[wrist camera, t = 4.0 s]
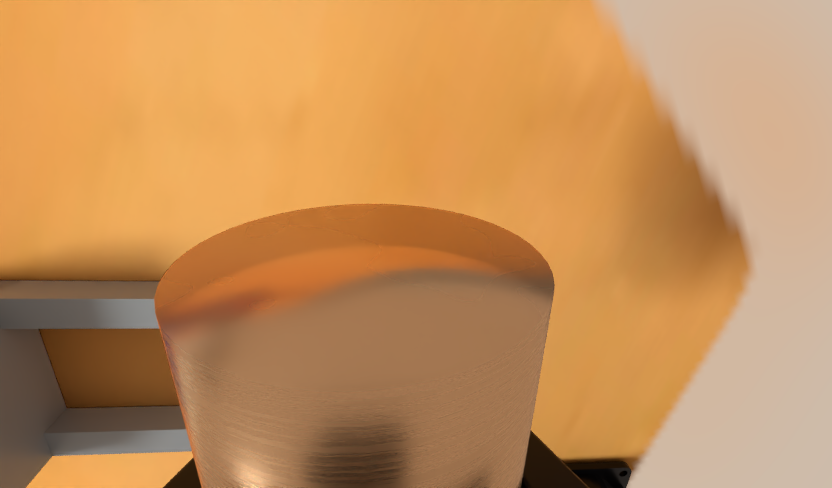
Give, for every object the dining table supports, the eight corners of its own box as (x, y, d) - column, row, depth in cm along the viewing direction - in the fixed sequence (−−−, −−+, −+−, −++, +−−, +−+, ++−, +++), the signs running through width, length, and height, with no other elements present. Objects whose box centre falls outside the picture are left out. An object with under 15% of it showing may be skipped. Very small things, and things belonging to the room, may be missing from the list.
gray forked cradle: (276, 282, 18) (236, 364, 13) (288, 423, 21) (260, 535, 16) (-59, 279, 17) (-251, 371, 12) (8, 431, 20) (-119, 556, 15)
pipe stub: (113, 249, 5) (276, 510, 2) (388, 190, 8) (624, 264, 5) (221, 618, 8) (348, 934, 5) (391, 481, 11) (536, 635, 8)
